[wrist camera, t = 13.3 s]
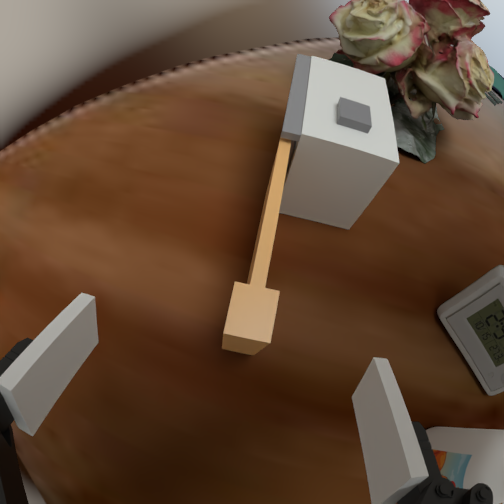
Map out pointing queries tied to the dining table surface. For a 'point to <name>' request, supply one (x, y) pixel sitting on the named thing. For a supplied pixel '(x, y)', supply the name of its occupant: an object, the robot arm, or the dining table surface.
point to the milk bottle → (470, 457)
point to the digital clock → (480, 327)
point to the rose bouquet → (418, 60)
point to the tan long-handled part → (258, 274)
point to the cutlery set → (497, 87)
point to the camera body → (336, 141)
